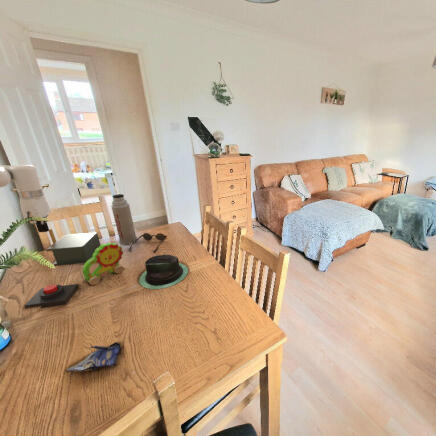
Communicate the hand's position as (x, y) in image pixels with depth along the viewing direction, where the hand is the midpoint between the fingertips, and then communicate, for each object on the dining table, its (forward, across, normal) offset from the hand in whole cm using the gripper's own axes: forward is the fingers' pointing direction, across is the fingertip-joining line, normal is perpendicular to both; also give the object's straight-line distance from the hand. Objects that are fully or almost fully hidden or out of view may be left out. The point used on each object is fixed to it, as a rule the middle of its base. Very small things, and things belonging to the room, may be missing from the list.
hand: (44, 231), depth 112 cm
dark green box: (+15, -2, +10) cm, 18 cm away
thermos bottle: (+15, -14, +28) cm, 35 cm away
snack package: (+15, +67, +42) cm, 81 cm away
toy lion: (+15, +20, +29) cm, 39 cm away
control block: (+15, +32, +15) cm, 39 cm away
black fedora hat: (+15, +25, +53) cm, 61 cm away
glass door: (+14, -6, +2) cm, 15 cm away
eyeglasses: (+15, -6, +40) cm, 43 cm away
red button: (+12, +32, +15) cm, 37 cm away
